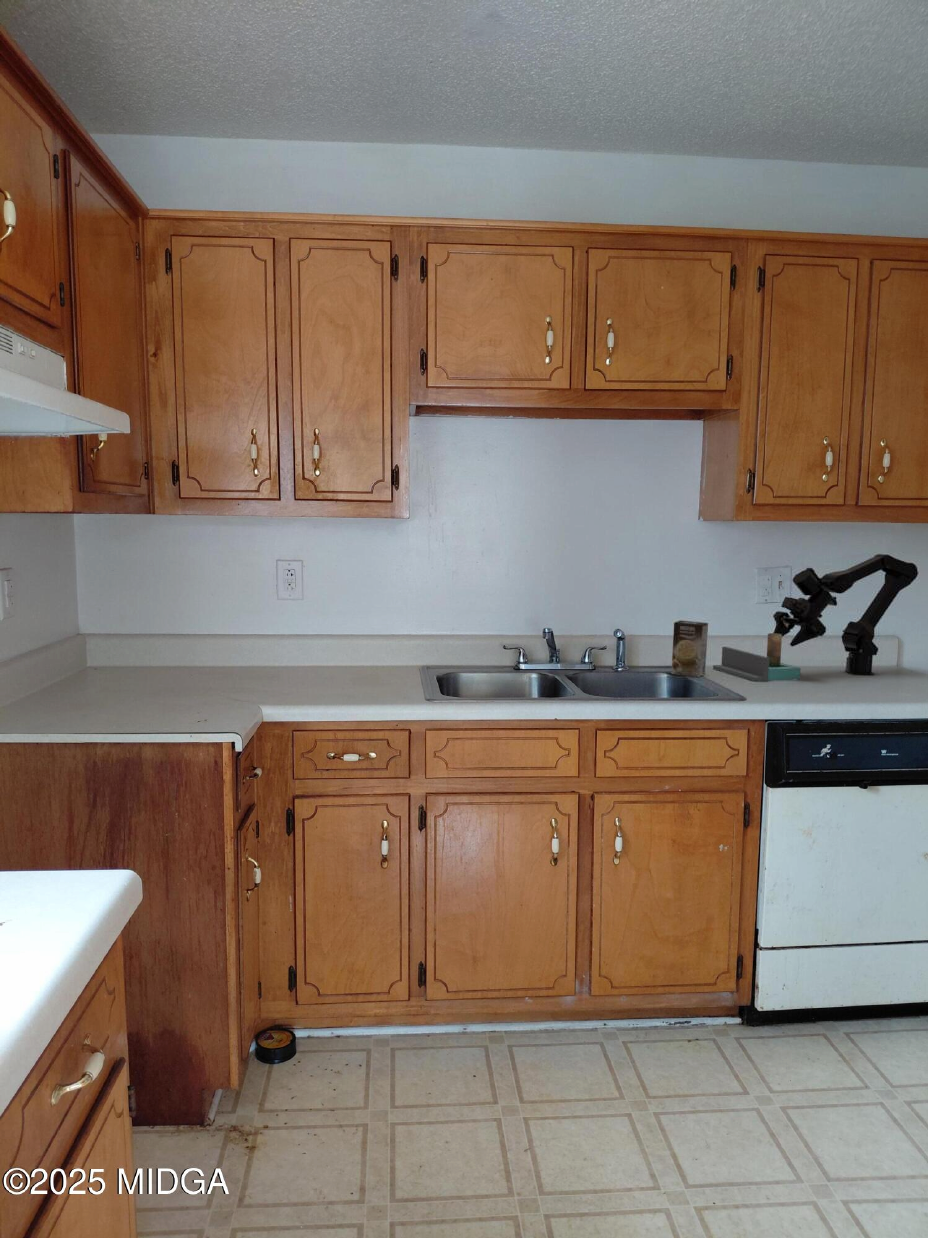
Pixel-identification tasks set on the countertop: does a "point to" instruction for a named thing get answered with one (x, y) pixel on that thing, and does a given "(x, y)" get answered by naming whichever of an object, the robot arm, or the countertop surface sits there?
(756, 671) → the backstop wall
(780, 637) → the dowel
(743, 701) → the countertop surface
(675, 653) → the coffee box
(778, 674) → the socket block
